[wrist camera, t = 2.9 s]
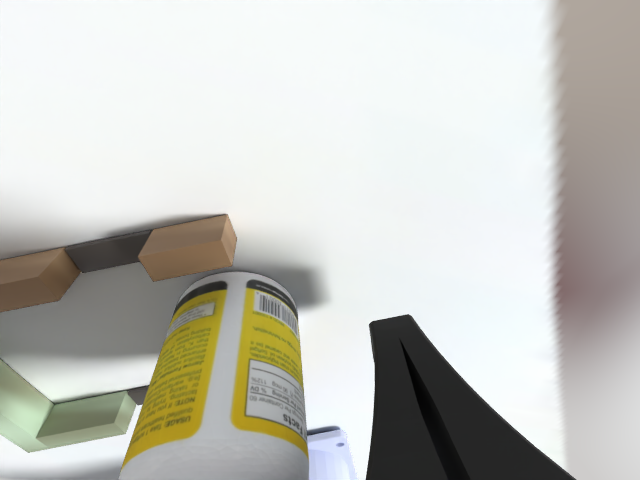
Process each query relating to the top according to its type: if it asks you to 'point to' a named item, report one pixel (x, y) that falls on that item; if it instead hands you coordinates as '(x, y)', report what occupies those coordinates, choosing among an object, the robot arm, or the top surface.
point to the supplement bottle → (225, 388)
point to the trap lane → (50, 285)
